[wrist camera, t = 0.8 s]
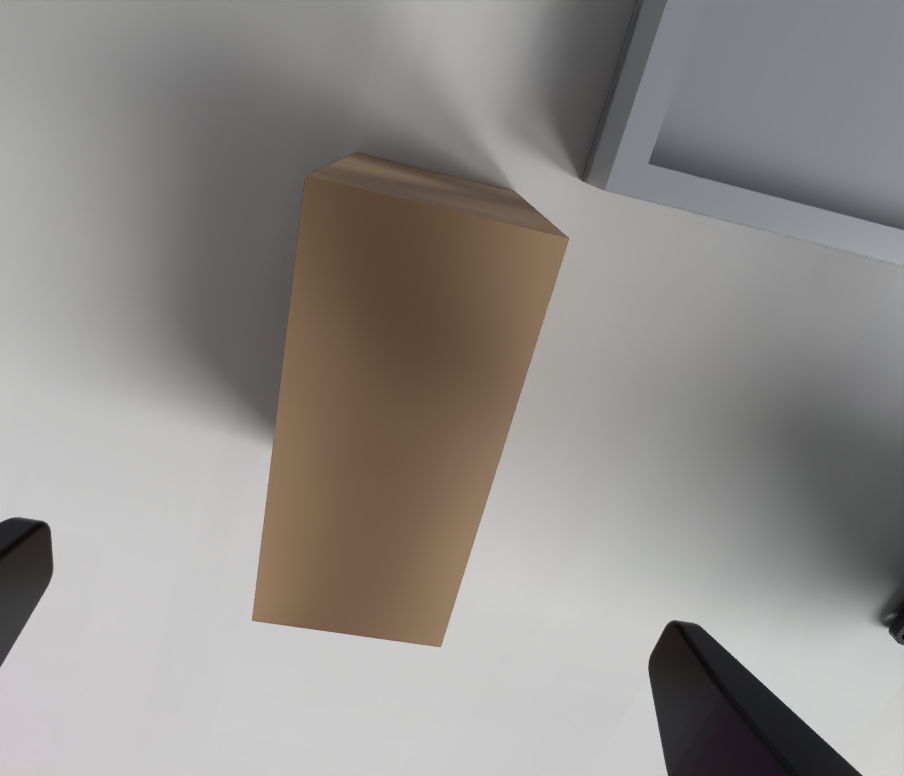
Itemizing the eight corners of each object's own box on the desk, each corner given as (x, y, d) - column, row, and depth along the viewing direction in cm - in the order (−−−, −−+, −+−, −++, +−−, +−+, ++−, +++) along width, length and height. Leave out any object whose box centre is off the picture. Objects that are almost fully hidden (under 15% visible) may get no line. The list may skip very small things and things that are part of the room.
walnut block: (515, 191, 16) (568, 238, 10) (437, 481, 20) (440, 647, 14) (356, 152, 16) (305, 175, 9) (309, 459, 20) (251, 620, 13)
